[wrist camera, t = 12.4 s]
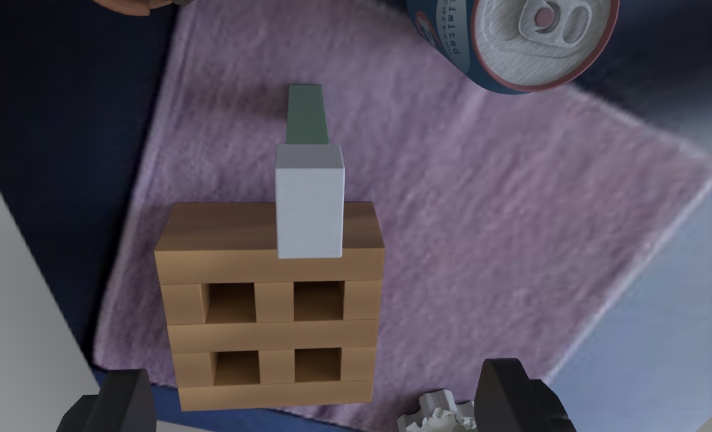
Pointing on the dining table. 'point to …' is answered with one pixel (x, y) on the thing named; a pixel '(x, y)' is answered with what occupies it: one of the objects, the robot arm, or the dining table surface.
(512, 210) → the dining table surface
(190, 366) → the holder
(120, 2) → the broken clay pot
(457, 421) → the egg carton
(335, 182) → the green bar with cap
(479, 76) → the soda can
